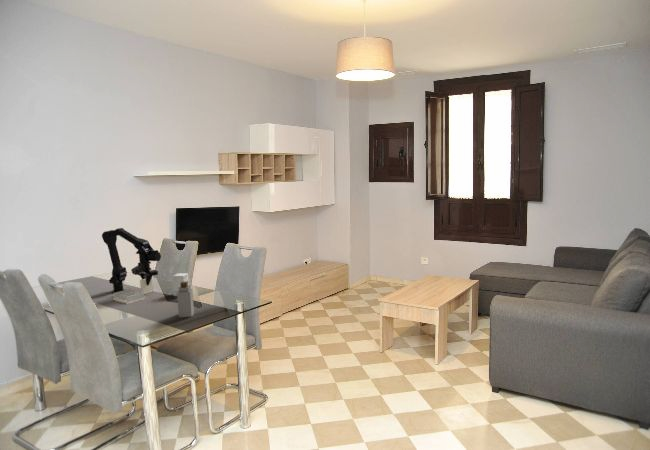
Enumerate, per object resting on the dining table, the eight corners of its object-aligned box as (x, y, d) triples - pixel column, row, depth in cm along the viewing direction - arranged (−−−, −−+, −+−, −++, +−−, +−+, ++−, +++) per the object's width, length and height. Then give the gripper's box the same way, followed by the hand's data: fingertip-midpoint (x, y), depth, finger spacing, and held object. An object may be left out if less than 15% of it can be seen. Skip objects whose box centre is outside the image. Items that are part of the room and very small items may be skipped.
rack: (113, 299, 299) (112, 293, 298) (131, 294, 308) (131, 288, 307) (126, 303, 289) (126, 297, 289) (145, 298, 299) (144, 292, 298)
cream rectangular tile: (141, 293, 309) (139, 279, 308) (151, 291, 315) (149, 277, 314) (143, 294, 308) (142, 280, 307) (153, 291, 313) (152, 277, 312)
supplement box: (184, 296, 301) (183, 276, 300) (173, 296, 303) (171, 275, 301) (190, 292, 309) (188, 273, 307) (179, 292, 310) (177, 272, 308)
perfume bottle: (181, 313, 269) (178, 281, 266) (194, 312, 269) (191, 280, 267) (178, 317, 262) (176, 284, 260) (191, 316, 263) (189, 283, 260)
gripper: (124, 261, 308) (126, 285, 310) (141, 264, 296) (143, 290, 299) (140, 258, 317) (142, 281, 319) (157, 261, 305) (159, 285, 307)
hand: (146, 284), depth 311 cm, fingers closed on cream rectangular tile, 2 cm apart
